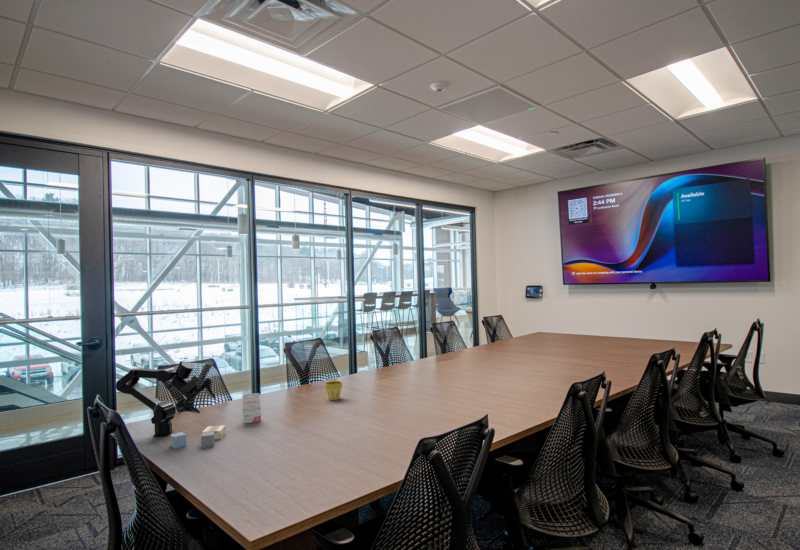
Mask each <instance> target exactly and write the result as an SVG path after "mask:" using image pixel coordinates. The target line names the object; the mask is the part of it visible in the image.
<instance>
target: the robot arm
mask: <svg viewBox="0 0 800 550" xmlns="http://www.w3.org/2000/svg"><path fill="white" fill-rule="evenodd" d="M194 368H195V365H194V364H193V363H191V362H188V361H185V360H180V362H179V364H178V366H177V368H175V367H169V368H168V367H167V368H163V369H154V368H142V367H135V368H132V369H130V370H129V371H128V373H126V374H125V375H123V376H122V377H120V379H118V380H117V381H116V383H115V389H116V390H117V391H118V392H119V393H122V394H124V395H125V394H126V395H131V396H132V397H133V398H135V399H137V400H138V401H139V402H140V403H142V404H143V405H145V406H146V407H148V408H149V409H151V410H152V413H153V416H152V418H151V419H150V422H151V424H153V425H154V434H153V435H152V436H153V437H167V436H169V435H171V434H173V432H174V430H173V423H172V420H173V419H174V418H175V414H176V412H177V413H178V414H182V413H185V412H188V413H189V412H190V413H195V414H196V413H197V414H200V413H201V411H200V410H199V409H197V408H196V407H195V406H193V405H192V404H190V401H192V399H194V398H195V397H197V395H199V394H200V393H201V392H202V391H204V392H205V393H206V394H207V395H208V396H210V397H211V398H212V399H214V400H216V399H217V398H216V396H215V394H214V392H213V390H212V386H213V380H212V379H211V378H204V380H202V382H200V378H199V377H197V376H196V375H193V376H192V377H191V378H190V379H191V380H187V379H188V378H189V377H190V376H191V374H192V372H193V370H194ZM142 378H144V379H155V380H157V382H160V383H161V382H162V383H166V382H167V385H168V387H167V389H168V390H172V389H175V390H176V391H177V392H179V394H180V395H181V396H184V397H185V399H184V398H181V399H179V400H178V401H177V402H175V405H174V403H173V402H171V401H170V400H168V399H165V400H163V401H161V400H159V399H158V398H157V397H156V396H153V395H152V394H151V393H149V392H148V391H146V389H144V388H142V387H141V386H140V384H139V381H140V379H142ZM169 382H170V383H169ZM199 382H200V387H198V383H199Z"/></svg>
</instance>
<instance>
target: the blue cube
mask: <svg viewBox="0 0 800 550" xmlns="http://www.w3.org/2000/svg"><path fill="white" fill-rule="evenodd" d="M169 435H170V436H169V437H170V439H169V440H170V447H171V448H172V449H174V450H175V449H179V448H184V447H186V446H187V444H188V443H187V433H185V432H183V431H180V432H177V433H171V434H169Z"/></svg>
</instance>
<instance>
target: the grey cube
mask: <svg viewBox="0 0 800 550" xmlns="http://www.w3.org/2000/svg"><path fill="white" fill-rule="evenodd" d="M200 441H201V442H200V443H201V446H200V447H201V448H210V447H214V446H215V443H216V442H215V441H216V439H215V436H214V431H213V432H205V433H202V432H201V436H200Z"/></svg>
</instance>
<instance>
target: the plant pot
mask: <svg viewBox="0 0 800 550" xmlns="http://www.w3.org/2000/svg"><path fill="white" fill-rule="evenodd" d="M324 389H325V390H326V393H327V394H326V395H327V398H328V400H331V401H336V400H339V399H340V398H341V392H342V389H343V382H342V381H341V380H331V381H327V382H325V383H324Z"/></svg>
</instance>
